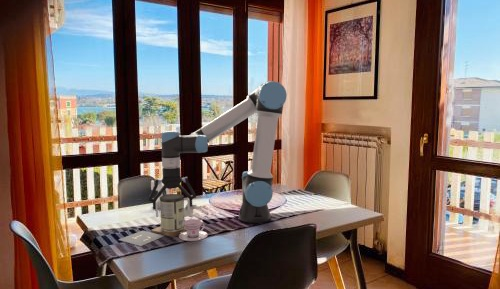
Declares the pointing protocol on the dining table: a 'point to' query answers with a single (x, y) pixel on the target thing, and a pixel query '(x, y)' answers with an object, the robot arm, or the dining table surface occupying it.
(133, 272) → the dining table surface
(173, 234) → the walnut board
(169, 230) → the coffee can
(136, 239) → the tile
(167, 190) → the figurine
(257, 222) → the robot arm
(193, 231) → the teacup
